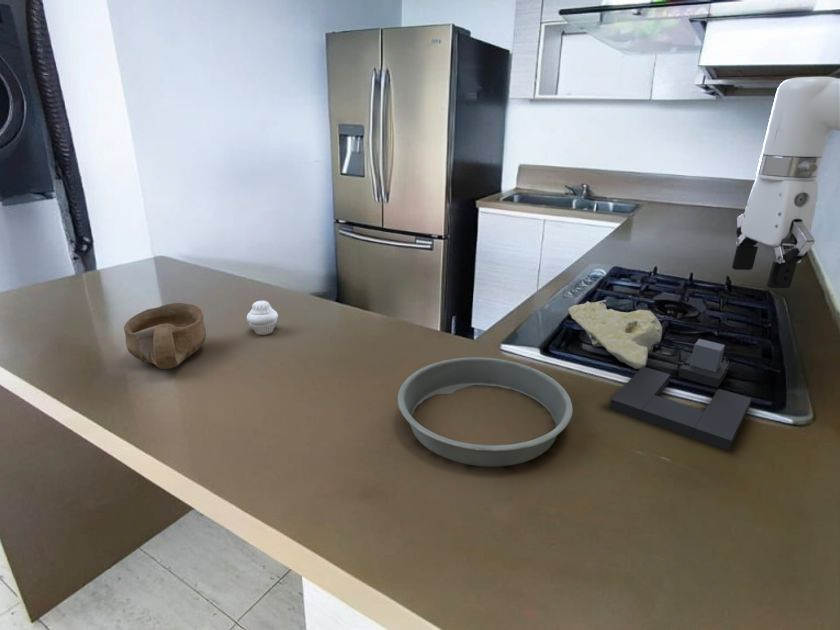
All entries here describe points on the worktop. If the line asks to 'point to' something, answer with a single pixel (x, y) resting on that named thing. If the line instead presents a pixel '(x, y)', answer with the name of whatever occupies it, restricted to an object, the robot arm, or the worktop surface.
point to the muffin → (262, 318)
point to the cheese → (619, 331)
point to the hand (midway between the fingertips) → (758, 277)
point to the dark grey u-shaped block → (682, 409)
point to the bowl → (165, 334)
